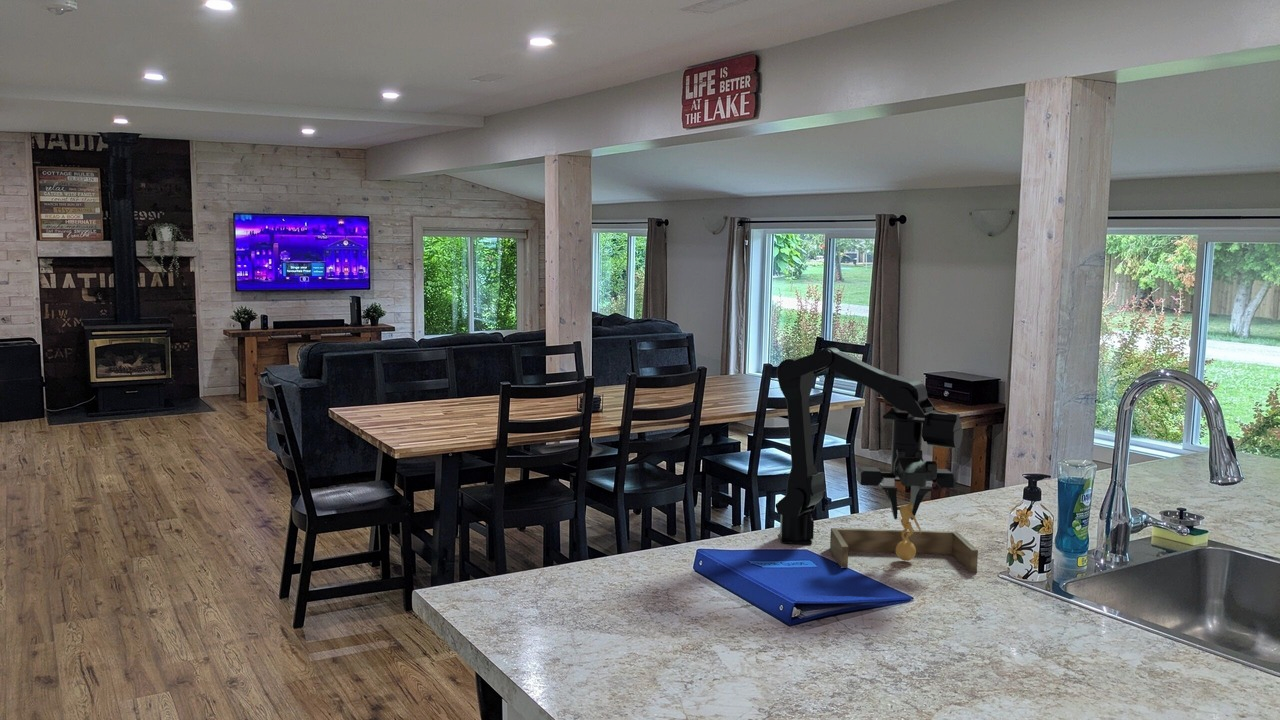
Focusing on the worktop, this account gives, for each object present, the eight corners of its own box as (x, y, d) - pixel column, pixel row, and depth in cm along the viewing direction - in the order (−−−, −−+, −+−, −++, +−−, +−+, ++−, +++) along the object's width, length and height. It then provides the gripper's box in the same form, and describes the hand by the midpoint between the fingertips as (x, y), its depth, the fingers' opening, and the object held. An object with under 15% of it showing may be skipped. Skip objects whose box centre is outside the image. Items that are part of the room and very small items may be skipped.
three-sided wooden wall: (841, 568, 190) (842, 546, 190) (830, 548, 204) (830, 528, 204) (976, 572, 189) (977, 550, 189) (956, 552, 203) (957, 531, 203)
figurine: (924, 568, 193) (939, 511, 192) (900, 566, 190) (916, 508, 189) (898, 552, 200) (912, 497, 199) (875, 550, 198) (890, 495, 197)
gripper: (868, 448, 186) (864, 528, 187) (965, 451, 185) (962, 530, 187) (857, 439, 197) (854, 514, 198) (949, 441, 196) (945, 516, 198)
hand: (903, 519), depth 195 cm, fingers closed on figurine, 3 cm apart
